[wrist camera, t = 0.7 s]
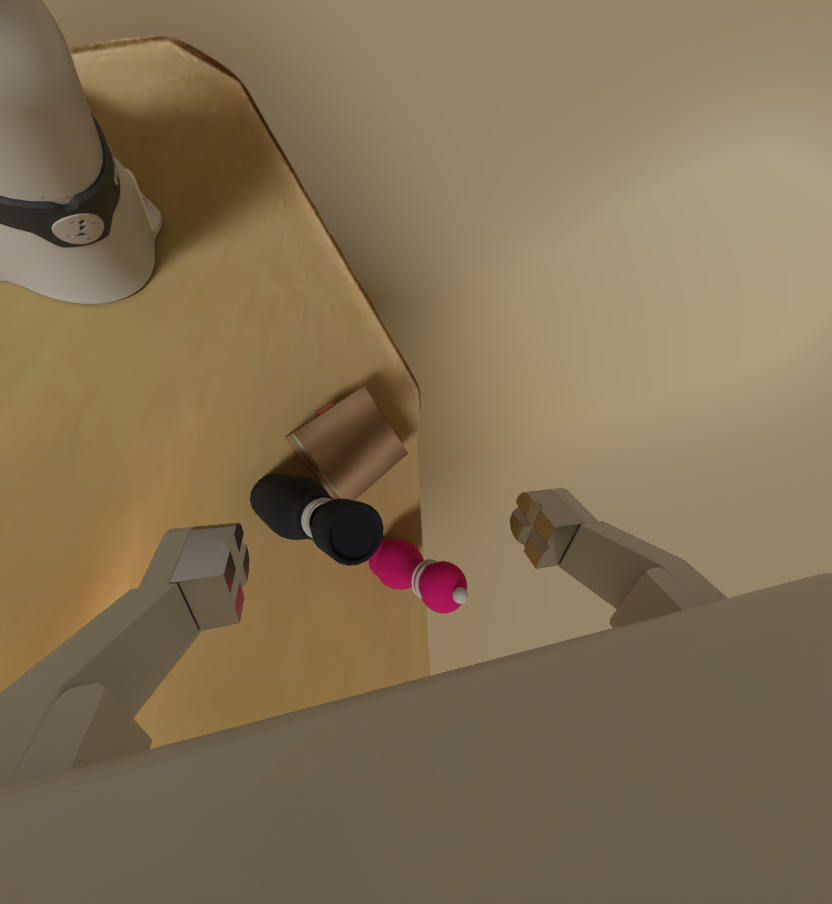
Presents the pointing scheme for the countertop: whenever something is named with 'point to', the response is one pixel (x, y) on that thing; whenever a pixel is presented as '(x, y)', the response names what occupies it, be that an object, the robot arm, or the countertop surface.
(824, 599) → the robot arm
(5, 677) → the countertop surface
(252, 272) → the countertop surface
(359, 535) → the black bottle
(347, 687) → the countertop surface
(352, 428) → the wooden box
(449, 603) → the pepper mill
